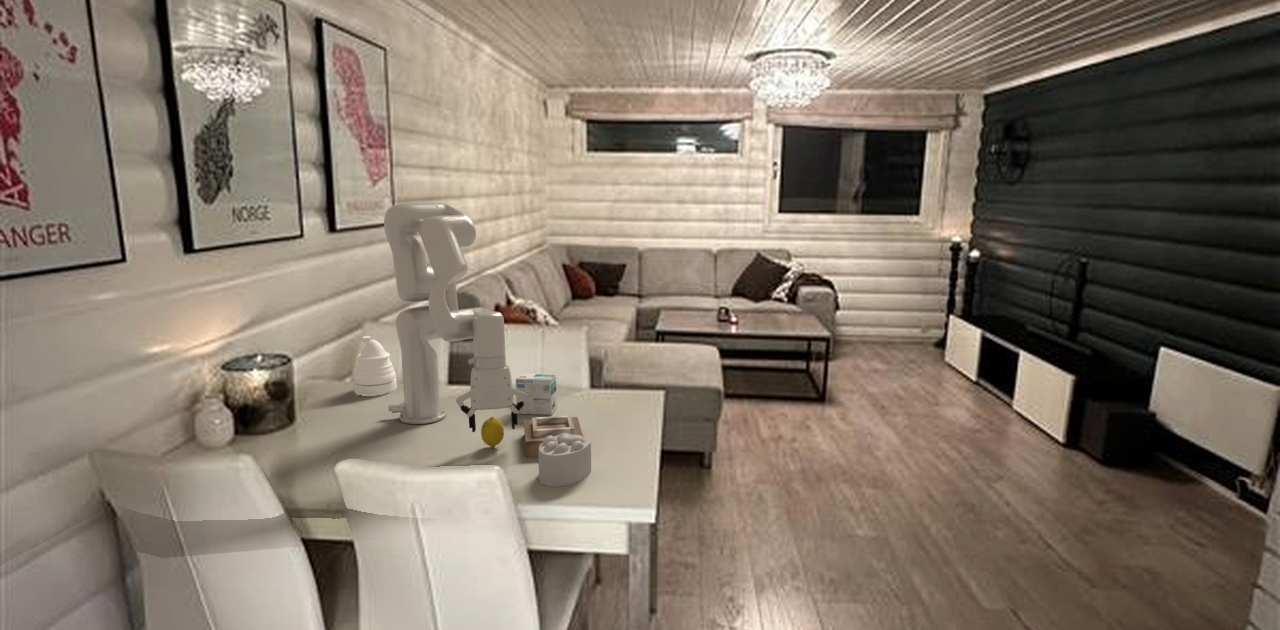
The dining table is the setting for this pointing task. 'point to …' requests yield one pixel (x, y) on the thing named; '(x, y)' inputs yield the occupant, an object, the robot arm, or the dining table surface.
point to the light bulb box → (537, 393)
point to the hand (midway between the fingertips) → (493, 429)
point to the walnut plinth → (547, 430)
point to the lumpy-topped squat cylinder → (564, 459)
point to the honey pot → (374, 369)
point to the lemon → (492, 432)
